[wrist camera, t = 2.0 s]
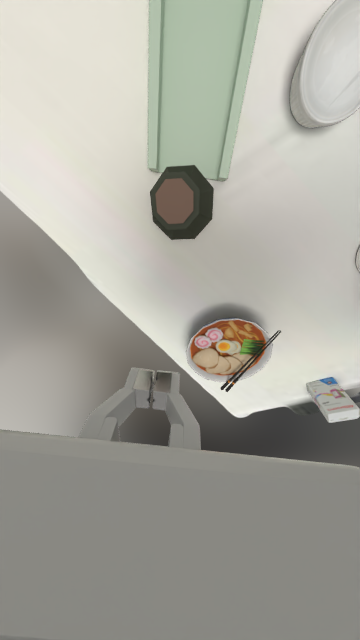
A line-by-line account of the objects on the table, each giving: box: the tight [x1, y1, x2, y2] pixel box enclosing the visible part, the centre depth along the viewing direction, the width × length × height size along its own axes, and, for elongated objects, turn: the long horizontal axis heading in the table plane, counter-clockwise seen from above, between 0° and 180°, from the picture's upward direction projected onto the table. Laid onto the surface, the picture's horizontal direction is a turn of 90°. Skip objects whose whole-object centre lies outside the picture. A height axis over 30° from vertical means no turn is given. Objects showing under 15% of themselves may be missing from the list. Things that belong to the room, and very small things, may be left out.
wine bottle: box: [150, 165, 213, 240], centre depth 24 cm, size 8×8×30 cm
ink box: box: [306, 377, 360, 423], centre depth 58 cm, size 9×5×12 cm, turn 117°
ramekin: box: [290, 0, 360, 128], centre depth 25 cm, size 11×11×5 cm
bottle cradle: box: [148, 0, 263, 181], centre depth 24 cm, size 14×30×4 cm, turn 174°
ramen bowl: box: [186, 318, 281, 392], centre depth 50 cm, size 25×23×8 cm
